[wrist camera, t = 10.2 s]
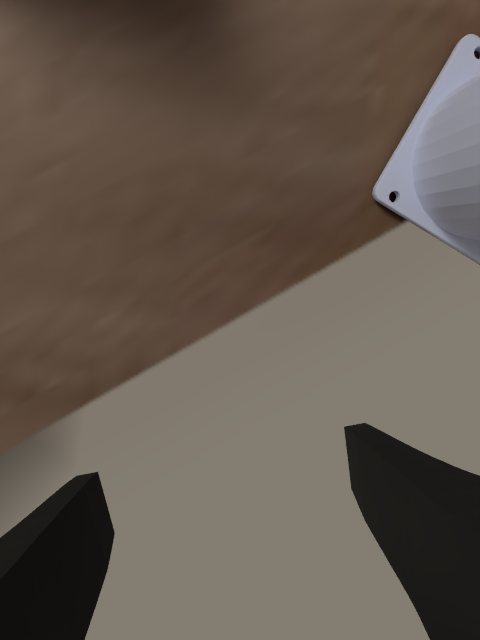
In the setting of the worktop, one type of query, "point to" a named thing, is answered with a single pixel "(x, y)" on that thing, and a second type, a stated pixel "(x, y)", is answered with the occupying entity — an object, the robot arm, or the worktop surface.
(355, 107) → the worktop surface
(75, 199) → the worktop surface
